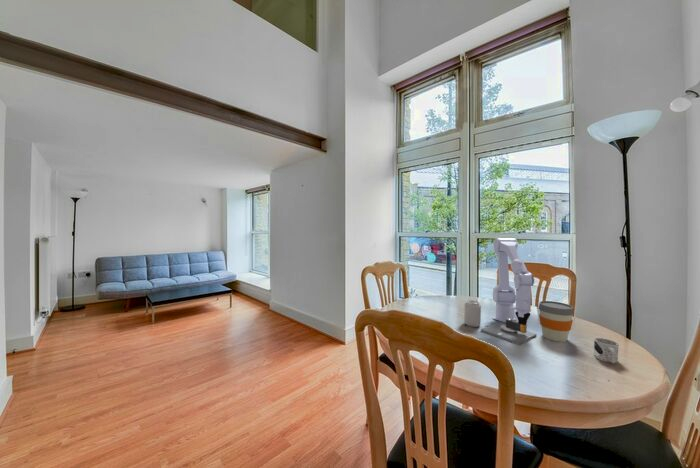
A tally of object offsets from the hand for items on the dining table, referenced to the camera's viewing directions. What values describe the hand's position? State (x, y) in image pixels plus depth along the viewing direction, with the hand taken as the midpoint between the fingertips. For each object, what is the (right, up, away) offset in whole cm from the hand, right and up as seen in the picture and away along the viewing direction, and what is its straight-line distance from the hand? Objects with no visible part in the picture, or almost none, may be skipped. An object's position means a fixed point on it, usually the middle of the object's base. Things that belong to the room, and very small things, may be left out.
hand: (522, 328), depth 121 cm
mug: (+18, -5, -22) cm, 29 cm away
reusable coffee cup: (+14, -4, -2) cm, 14 cm away
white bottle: (-17, -3, +13) cm, 22 cm away
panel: (-5, -3, +2) cm, 7 cm away
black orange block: (-3, -2, +2) cm, 4 cm away
